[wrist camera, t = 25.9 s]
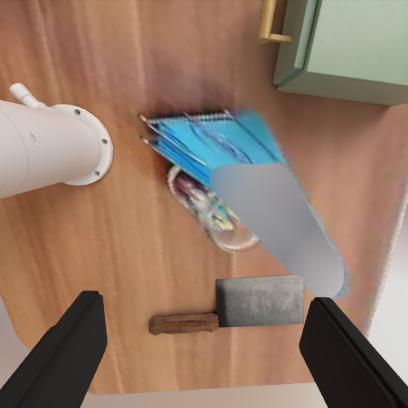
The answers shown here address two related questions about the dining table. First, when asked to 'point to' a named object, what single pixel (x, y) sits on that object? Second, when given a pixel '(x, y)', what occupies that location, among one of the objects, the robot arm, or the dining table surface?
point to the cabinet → (356, 53)
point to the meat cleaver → (243, 306)
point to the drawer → (289, 35)
